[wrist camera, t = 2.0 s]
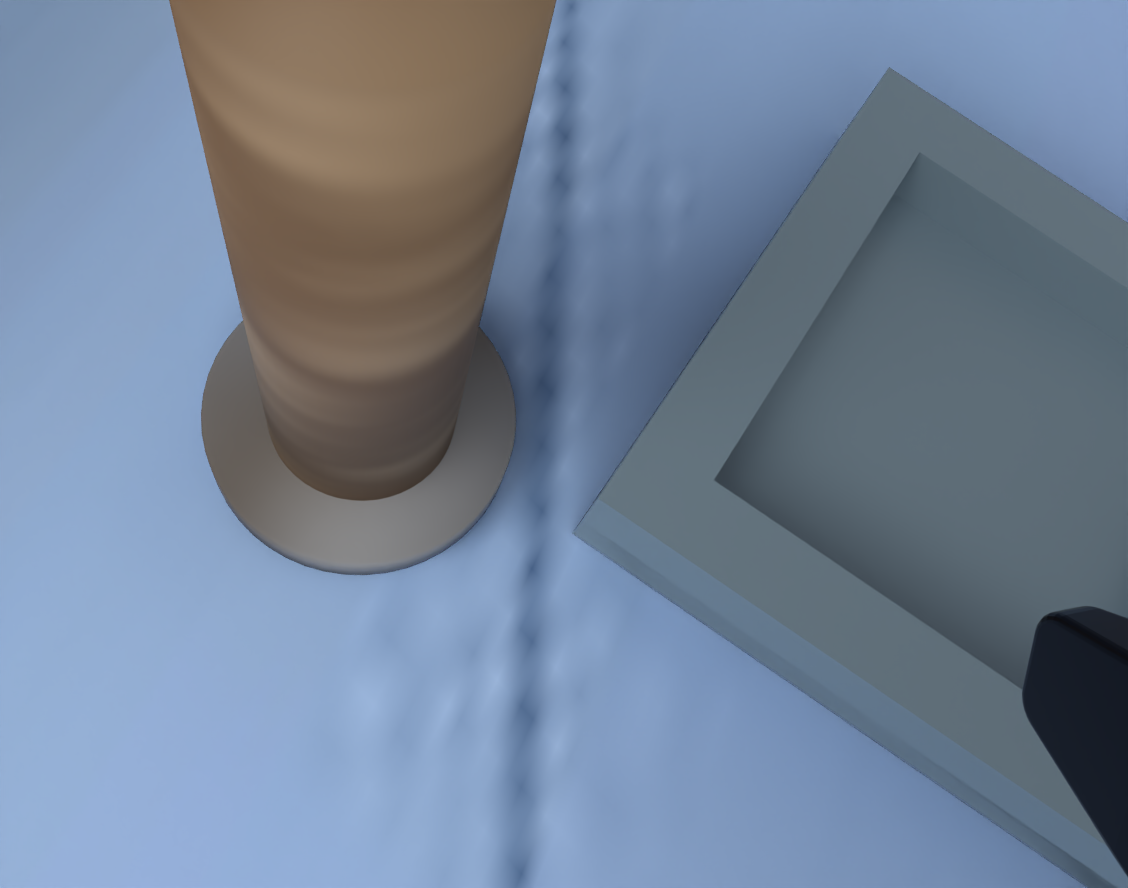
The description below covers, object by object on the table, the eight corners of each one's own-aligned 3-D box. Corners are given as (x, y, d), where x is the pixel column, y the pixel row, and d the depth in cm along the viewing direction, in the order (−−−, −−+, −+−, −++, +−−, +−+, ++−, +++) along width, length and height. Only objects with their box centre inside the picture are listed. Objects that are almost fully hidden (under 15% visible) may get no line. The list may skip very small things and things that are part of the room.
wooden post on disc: (564, 403, 22) (799, -86, 10) (396, 635, 20) (448, 353, 8) (333, 246, 23) (303, -408, 11) (142, 458, 20) (-172, -69, 8)
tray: (1275, 419, 26) (1367, 378, 23) (1097, 894, 21) (1189, 902, 19) (842, 134, 26) (889, 67, 24) (572, 533, 21) (598, 498, 19)
